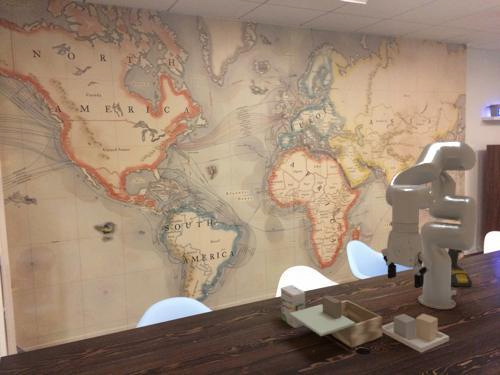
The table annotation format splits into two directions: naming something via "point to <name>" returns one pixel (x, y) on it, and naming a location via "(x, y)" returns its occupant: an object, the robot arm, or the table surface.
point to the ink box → (291, 304)
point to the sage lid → (323, 317)
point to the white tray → (415, 339)
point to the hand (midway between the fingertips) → (404, 282)
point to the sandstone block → (426, 327)
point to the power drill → (458, 271)
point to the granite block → (405, 326)
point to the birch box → (358, 325)
